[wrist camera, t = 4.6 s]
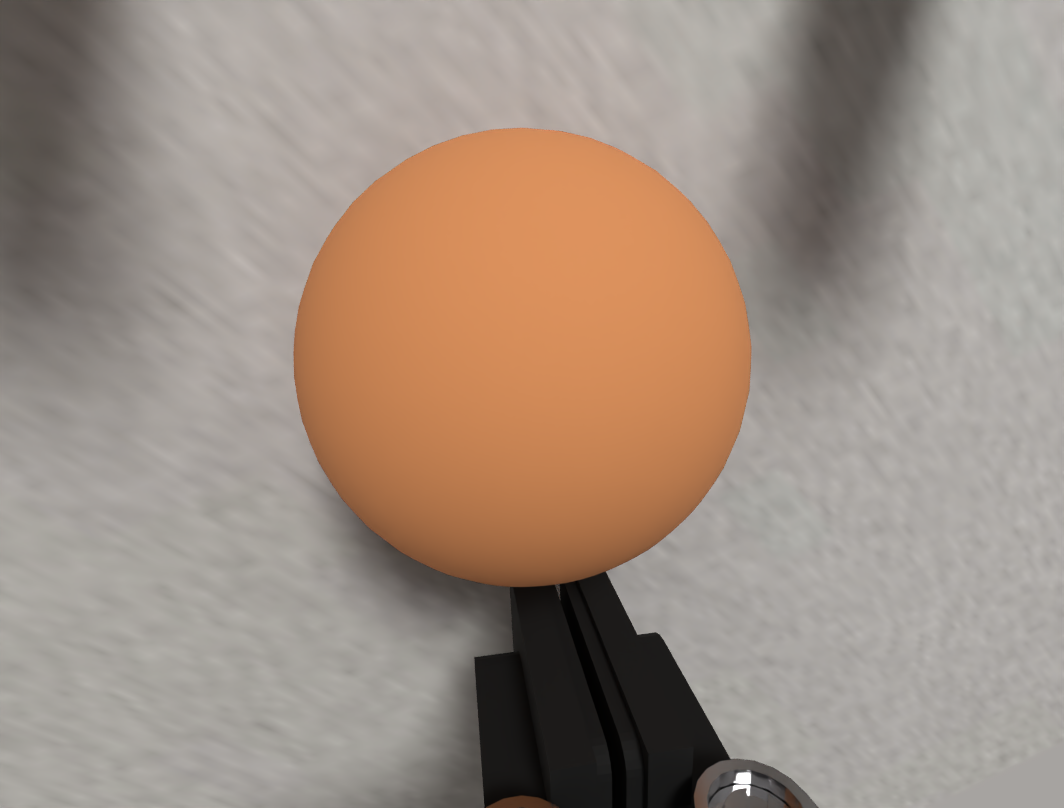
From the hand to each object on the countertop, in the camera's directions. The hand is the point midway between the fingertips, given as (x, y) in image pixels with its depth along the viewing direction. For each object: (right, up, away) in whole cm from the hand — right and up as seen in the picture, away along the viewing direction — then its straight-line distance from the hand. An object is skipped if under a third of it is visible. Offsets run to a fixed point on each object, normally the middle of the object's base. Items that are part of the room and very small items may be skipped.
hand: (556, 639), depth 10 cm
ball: (-1, +5, -3) cm, 6 cm away
